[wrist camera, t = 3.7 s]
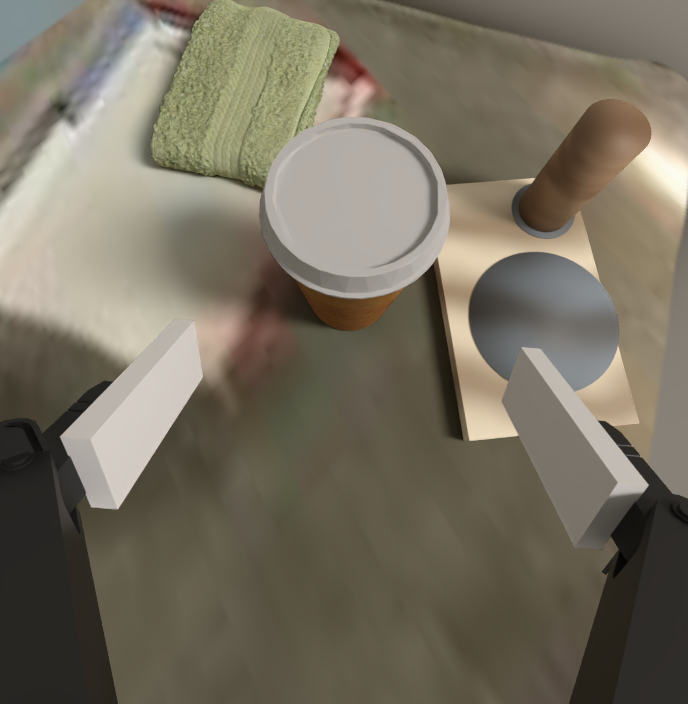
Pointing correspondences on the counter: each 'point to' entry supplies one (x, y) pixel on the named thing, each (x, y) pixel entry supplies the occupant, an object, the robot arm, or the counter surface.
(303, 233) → the disposable coffee cup
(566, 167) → the walnut peg
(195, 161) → the washcloth
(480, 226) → the board
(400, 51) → the counter surface
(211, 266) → the counter surface
